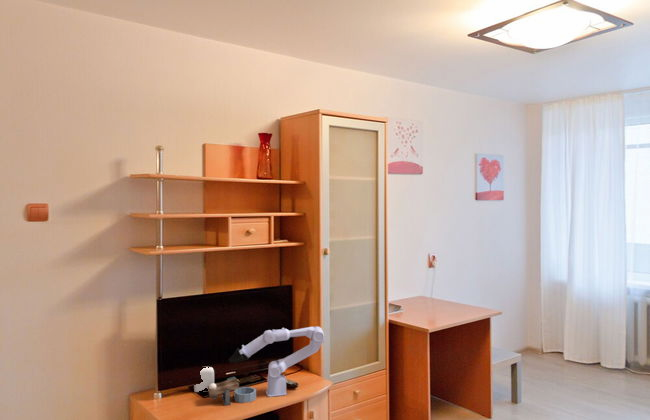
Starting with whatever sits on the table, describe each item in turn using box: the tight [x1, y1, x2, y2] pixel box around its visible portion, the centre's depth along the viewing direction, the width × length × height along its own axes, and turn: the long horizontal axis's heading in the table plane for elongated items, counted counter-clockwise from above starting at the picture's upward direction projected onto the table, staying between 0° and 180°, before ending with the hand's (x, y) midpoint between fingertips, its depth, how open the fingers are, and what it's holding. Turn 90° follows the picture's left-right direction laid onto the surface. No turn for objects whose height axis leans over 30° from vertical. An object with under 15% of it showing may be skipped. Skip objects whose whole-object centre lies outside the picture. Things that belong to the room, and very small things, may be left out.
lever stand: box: [221, 389, 232, 406], centre depth 252 cm, size 3×12×8 cm, turn 18°
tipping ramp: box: [207, 376, 240, 400], centre depth 255 cm, size 15×15×4 cm
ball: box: [209, 382, 217, 390], centre depth 250 cm, size 4×4×4 cm
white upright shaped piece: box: [193, 366, 215, 393], centre depth 266 cm, size 10×4×12 cm, turn 104°
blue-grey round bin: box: [233, 386, 257, 404], centre depth 255 cm, size 11×11×4 cm
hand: (231, 361), depth 259 cm, fingers open, 7 cm apart
